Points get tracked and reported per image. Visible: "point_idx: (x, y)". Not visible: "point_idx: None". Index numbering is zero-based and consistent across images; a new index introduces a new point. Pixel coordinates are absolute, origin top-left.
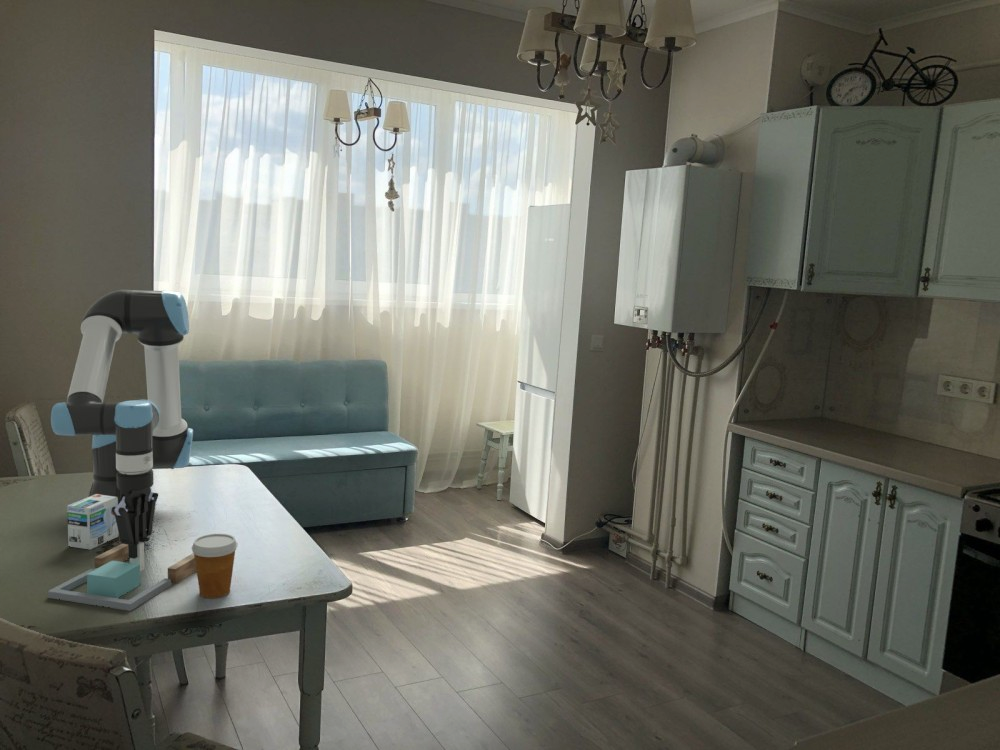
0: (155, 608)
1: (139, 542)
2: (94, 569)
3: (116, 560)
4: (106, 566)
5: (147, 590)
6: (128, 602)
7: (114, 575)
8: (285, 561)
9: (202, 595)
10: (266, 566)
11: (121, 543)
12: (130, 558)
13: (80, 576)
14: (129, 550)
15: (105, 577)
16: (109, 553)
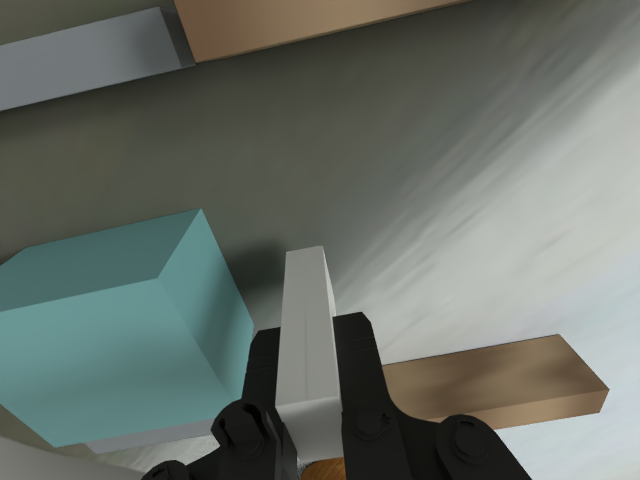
0: (173, 452)
1: (332, 442)
2: (145, 54)
3: (371, 23)
4: (75, 325)
5: (196, 427)
6: (97, 444)
7: (63, 427)
8: (589, 469)
9: (301, 478)
10: (543, 461)
11: (148, 472)
12: (285, 302)
13: (7, 81)
14: (246, 390)
15: (17, 408)
16: (317, 6)
